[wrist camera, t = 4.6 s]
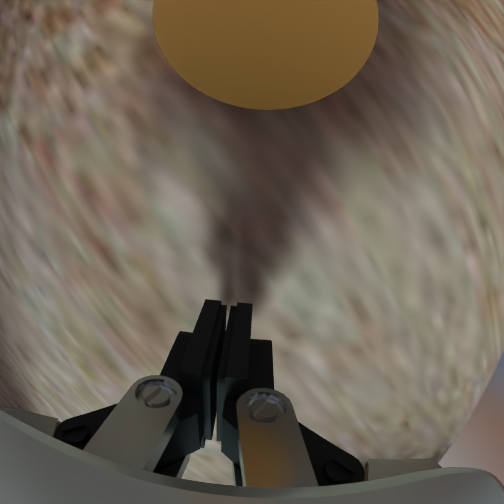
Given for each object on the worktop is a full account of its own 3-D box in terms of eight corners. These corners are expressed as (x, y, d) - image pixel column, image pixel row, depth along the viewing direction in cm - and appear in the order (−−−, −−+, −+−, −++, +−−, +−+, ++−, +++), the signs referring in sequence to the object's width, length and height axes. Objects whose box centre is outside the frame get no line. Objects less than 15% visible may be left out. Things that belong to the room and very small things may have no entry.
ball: (198, -44, 6) (188, 85, 10) (122, -95, 1) (110, 133, 6) (360, -28, 6) (338, 103, 10) (425, -75, 1) (382, 164, 5)
